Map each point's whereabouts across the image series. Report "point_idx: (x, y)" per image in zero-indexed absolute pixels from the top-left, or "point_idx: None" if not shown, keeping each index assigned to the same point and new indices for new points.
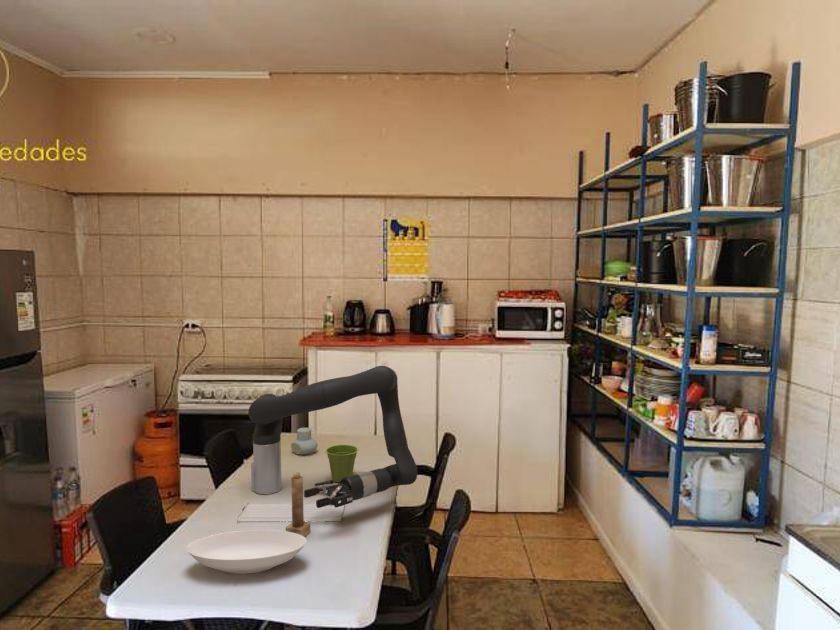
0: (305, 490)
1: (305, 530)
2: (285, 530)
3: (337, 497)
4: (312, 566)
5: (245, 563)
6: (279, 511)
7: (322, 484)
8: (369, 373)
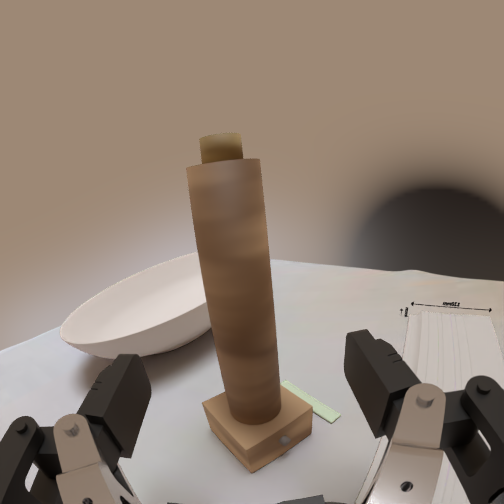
0: (357, 331)
1: (224, 435)
2: (315, 402)
3: (21, 443)
4: (70, 394)
5: (134, 286)
6: (456, 377)
7: (492, 442)
8: None
